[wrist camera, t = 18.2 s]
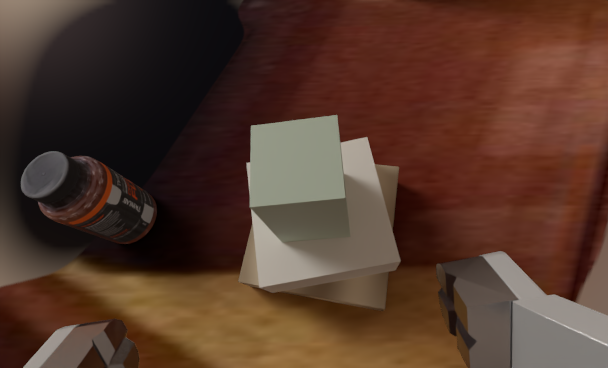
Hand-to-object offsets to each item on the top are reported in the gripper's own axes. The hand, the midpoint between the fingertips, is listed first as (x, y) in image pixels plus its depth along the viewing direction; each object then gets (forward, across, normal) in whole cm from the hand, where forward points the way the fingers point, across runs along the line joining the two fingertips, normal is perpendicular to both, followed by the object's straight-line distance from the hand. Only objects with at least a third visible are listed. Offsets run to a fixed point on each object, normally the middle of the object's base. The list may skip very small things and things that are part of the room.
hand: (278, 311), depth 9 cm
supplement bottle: (+26, +19, +7) cm, 33 cm away
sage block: (+17, 0, +5) cm, 17 cm away
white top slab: (+19, 0, +8) cm, 21 cm away
